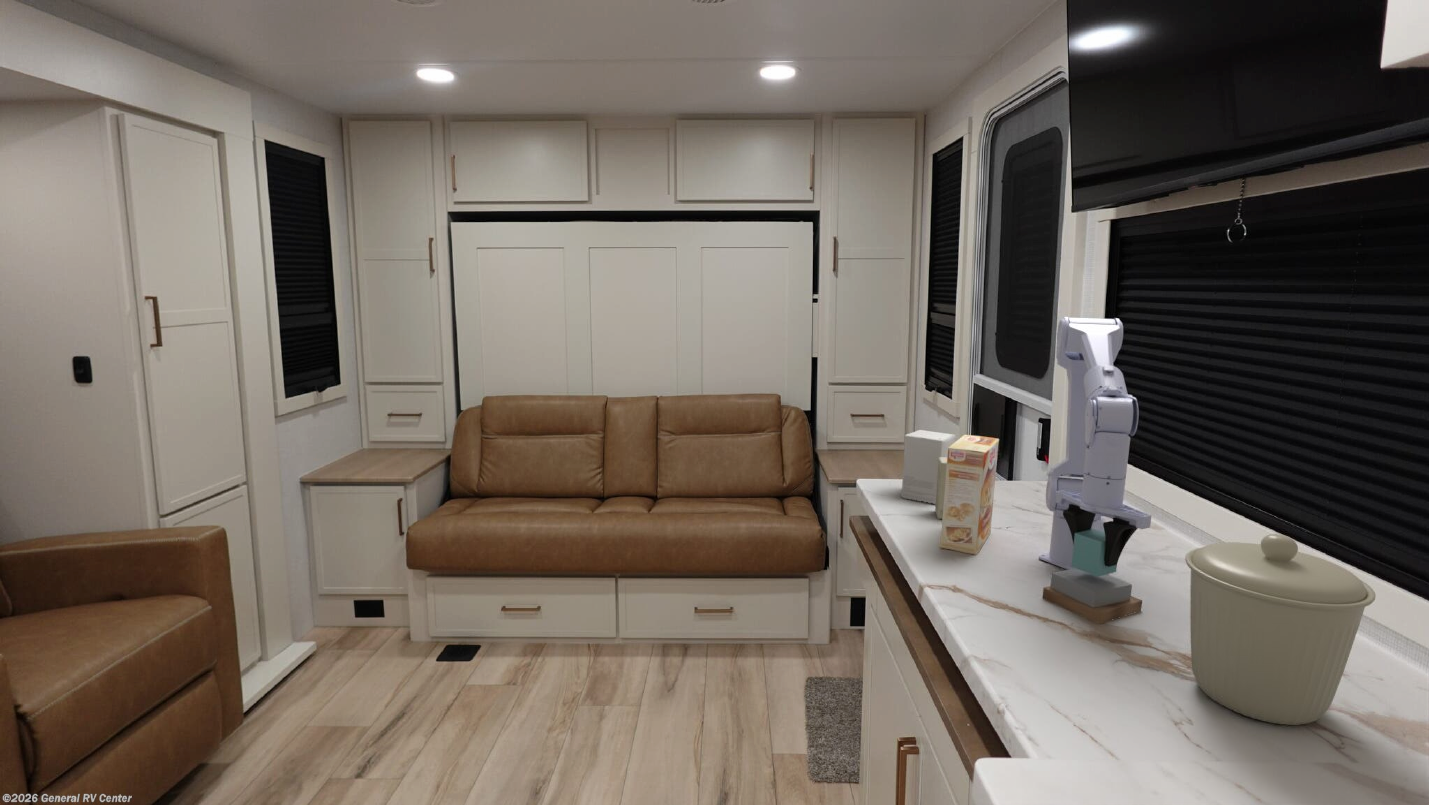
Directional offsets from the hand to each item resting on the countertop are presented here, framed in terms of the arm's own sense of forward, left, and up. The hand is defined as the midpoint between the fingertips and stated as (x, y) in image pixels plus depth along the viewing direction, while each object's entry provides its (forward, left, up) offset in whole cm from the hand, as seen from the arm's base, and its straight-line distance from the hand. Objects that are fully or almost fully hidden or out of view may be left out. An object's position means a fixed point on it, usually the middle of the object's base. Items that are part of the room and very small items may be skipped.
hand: (1095, 559), depth 118 cm
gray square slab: (0, 0, -6) cm, 6 cm away
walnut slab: (0, 0, -8) cm, 8 cm away
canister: (+7, +27, -8) cm, 29 cm away
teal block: (0, 0, -2) cm, 2 cm away
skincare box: (-13, -43, -8) cm, 46 cm away
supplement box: (-19, -55, -8) cm, 59 cm away
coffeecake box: (-5, -30, -8) cm, 31 cm away
